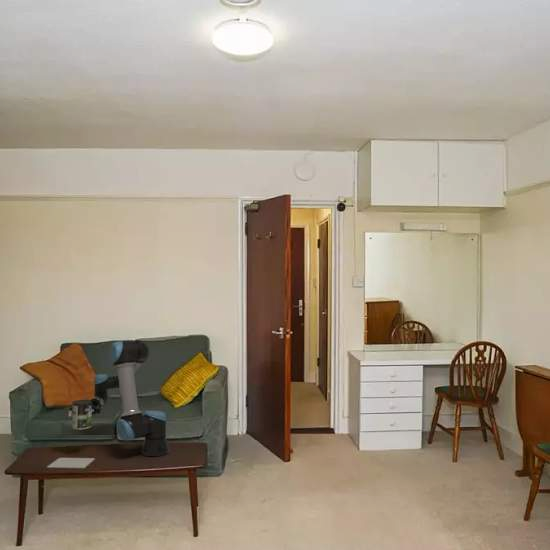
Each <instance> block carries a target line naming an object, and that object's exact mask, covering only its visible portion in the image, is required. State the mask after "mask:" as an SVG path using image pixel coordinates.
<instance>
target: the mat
mask: <svg viewBox="0 0 550 550" xmlns="http://www.w3.org/2000/svg"><path fill="white" fill-rule="evenodd" d="M94 460H96V458H95V457H93V458H91V457H90V458H89V457H85V458H84V457H59V458H57V459H56V460H54V461H53V462H52V463H50V464H48V465H47V466H46V468H51V469H56V468H57V469H85V468H87V467H88V466H89V465H90V464H91V463H92V462H94Z"/></svg>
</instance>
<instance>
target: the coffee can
mask: <svg viewBox="0 0 550 550" xmlns="http://www.w3.org/2000/svg"><path fill="white" fill-rule="evenodd" d="M72 407H73V415H72V416H71V417H72V421H71V424H72V425H71V428H72V429H73V430H86V429H87V430H88V429H89V428H91V427H92V416H93V415H92V416H91V417H88V412H90V411H91V410H92V401H91V399H79V400H77V399H76V400H74V401H72Z"/></svg>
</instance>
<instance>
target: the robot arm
mask: <svg viewBox="0 0 550 550" xmlns="http://www.w3.org/2000/svg"><path fill="white" fill-rule="evenodd" d="M150 351H151V350H150V347H149V345H148V344H147V342H145V341H143V340H140V339H134V340H120V341H116V342H112V344H111V345H110V346H109V349H108V360H109V363H110V364H113V367H114V368H115V369H116V370H117V375H114V376H113V375H112V376H108V374H105V373H102V374H100V373H99V374H96V375H94V381H93V382H94V385H93V386H94V394H93V395H94V396H93V397H92V398H91V399H90V400H91V401H92V410H91V411H90V412H88V417H91V416H94V415H97V414H98V415H100V414H101V412H102V410H103V407H104V406H106V405H107V404H108V403H109V402H110V395H109V394H108V390H112V389H113V390H114V389H119V394H120V395H119V396H120V403H121V409H122V413H121V415H119V417H120V419H119V420H118V421H117V425H116V429H117V432H118V435H119V437H120V438H121V439H122V440H123V441H134V440H137V439H141V438H144V441H143V445H142V448H141V455H142V454H143V455H142V456H144V455H145V456H144V457H147V456H158V457H162V456H161V455H163V456H165V455H164V454H166V455H168V454H169V453H170V446H169V443H168V441H167V417H166V416H167V415H166V413H165V412H163V411H161V410H146V411H144V414H143V411H141V410H140V409H139V401H138V395H137V387H136V379H135V373H136V372H137V370H138V369H139V368H140V367H141V365H142V364H144V363H146V361H148V359H149V356H150ZM72 416H73V406H72V407H69V411H68V417H72ZM91 418H92V417H91ZM168 452H169V453H168ZM167 453H168V454H167Z"/></svg>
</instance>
